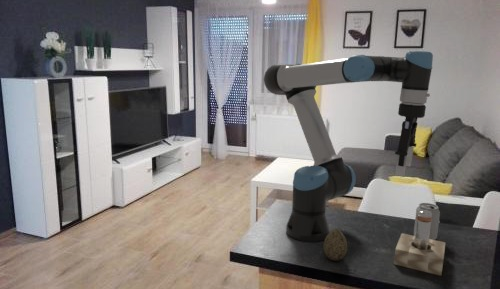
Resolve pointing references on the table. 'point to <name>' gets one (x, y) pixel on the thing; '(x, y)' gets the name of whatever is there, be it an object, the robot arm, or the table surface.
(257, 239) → the table surface
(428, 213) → the tube
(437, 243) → the collar
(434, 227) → the can
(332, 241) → the decorative egg
